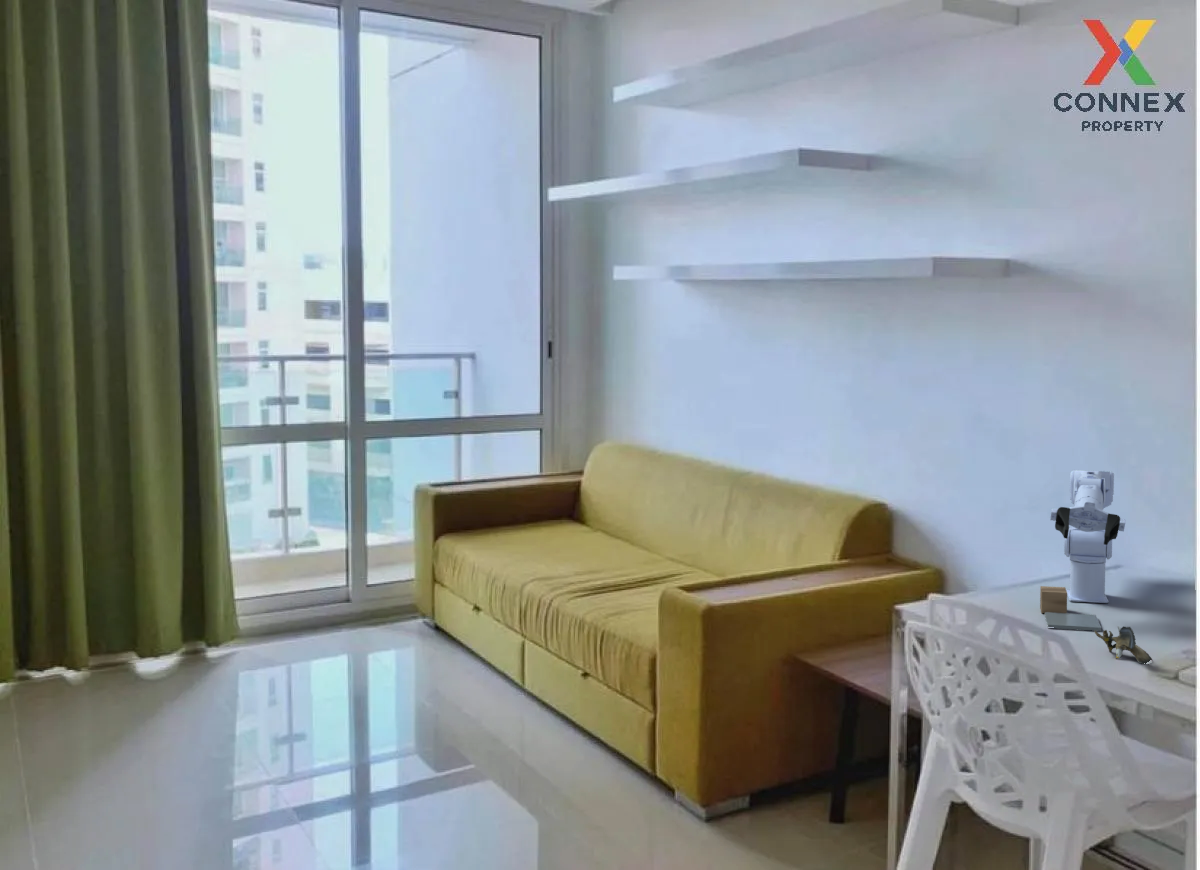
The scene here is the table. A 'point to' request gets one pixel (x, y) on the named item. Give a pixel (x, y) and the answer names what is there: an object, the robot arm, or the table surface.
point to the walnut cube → (1053, 599)
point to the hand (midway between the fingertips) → (1086, 537)
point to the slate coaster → (1072, 621)
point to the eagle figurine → (1125, 644)
